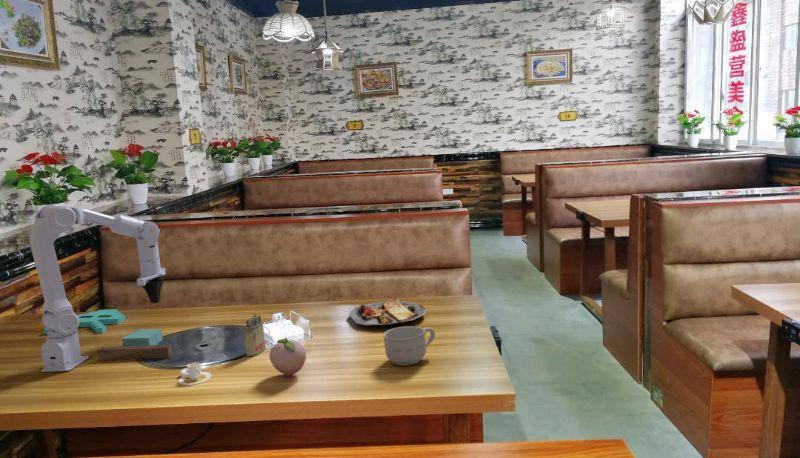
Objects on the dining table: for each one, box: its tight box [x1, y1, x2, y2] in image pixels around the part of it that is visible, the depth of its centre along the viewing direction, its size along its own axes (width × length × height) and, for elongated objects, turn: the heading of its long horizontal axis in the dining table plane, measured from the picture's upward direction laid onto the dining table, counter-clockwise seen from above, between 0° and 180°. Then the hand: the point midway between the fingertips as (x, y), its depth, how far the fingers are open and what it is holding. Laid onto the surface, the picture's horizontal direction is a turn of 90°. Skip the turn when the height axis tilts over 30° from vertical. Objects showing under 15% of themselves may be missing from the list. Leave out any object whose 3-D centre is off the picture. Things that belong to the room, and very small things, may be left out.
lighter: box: [243, 314, 267, 357], centre depth 164 cm, size 7×4×10 cm, turn 163°
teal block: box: [121, 328, 164, 347], centre depth 175 cm, size 8×8×4 cm
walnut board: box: [97, 344, 172, 361], centre depth 166 cm, size 2×20×3 cm, turn 87°
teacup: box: [382, 325, 436, 367], centre depth 151 cm, size 14×11×8 cm
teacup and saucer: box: [177, 361, 212, 386], centre depth 149 cm, size 9×8×4 cm
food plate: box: [348, 297, 427, 326], centre depth 188 cm, size 25×23×4 cm
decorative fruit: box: [268, 336, 307, 377], centre depth 146 cm, size 9×8×10 cm
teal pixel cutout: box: [43, 308, 126, 335], centre depth 200 cm, size 20×2×20 cm
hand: (155, 302), depth 183 cm, fingers closed
